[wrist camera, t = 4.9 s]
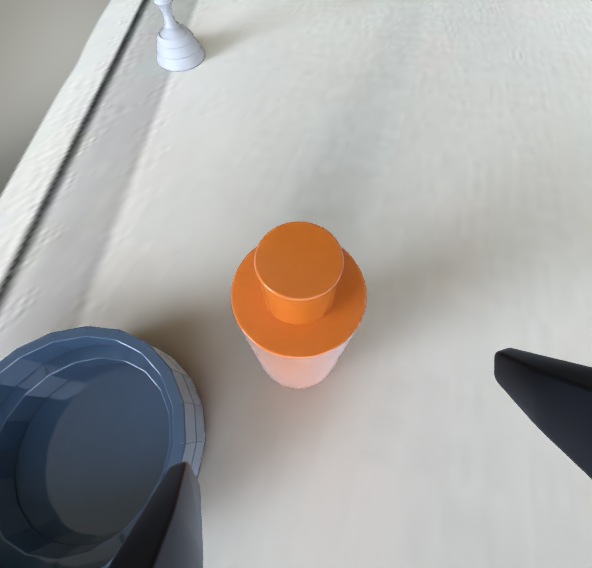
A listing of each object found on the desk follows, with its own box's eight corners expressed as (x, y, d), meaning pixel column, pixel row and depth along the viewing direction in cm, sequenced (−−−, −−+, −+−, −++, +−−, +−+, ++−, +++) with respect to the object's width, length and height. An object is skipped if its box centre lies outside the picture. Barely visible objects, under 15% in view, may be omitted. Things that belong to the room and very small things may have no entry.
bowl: (225, 355, 21) (210, 340, 17) (175, 593, 16) (138, 643, 12) (52, 334, 21) (1, 315, 17) (-48, 556, 16) (-147, 594, 13)
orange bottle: (340, 314, 22) (383, 199, 11) (334, 393, 20) (382, 350, 9) (265, 306, 22) (233, 185, 11) (252, 383, 20) (196, 328, 9)
